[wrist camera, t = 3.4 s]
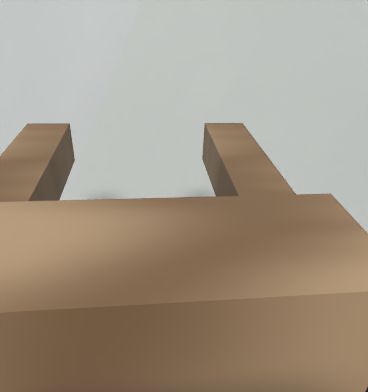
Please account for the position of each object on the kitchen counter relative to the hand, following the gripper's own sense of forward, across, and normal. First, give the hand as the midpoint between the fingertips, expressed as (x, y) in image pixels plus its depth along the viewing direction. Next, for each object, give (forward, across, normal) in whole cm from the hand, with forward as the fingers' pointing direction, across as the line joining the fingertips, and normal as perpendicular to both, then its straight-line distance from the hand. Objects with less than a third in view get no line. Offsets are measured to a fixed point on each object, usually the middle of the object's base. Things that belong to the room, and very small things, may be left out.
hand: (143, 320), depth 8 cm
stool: (+3, 0, 0) cm, 3 cm away
